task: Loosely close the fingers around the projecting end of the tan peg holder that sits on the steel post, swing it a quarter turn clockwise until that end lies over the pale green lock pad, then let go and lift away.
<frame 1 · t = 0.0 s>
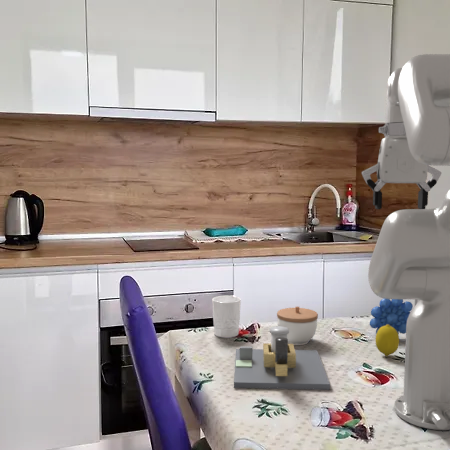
hand: (399, 208, 116), 37 cm above the table, tool pointing down, fingers open, 9 cm apart
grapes: (391, 338, 140), on the table
lidded jar: (296, 342, 137), on the table
post base: (278, 370, 118), on the table
tan peg holder: (279, 349, 114), point 6 cm above the table, hinge at 0.0°
lemon: (386, 357, 126), on the table
white cup: (226, 334, 143), on the table
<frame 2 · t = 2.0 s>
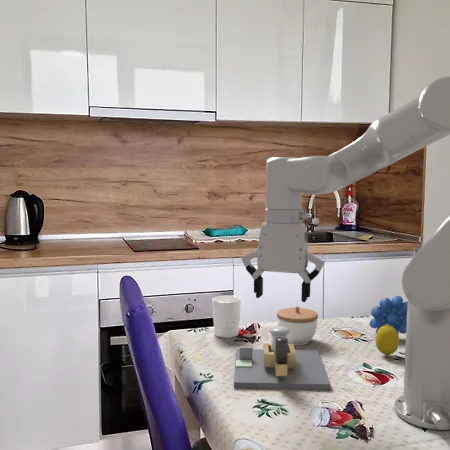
hand: (281, 298, 108), 19 cm above the table, tool pointing down, fingers open, 9 cm apart
nothing on the table moved.
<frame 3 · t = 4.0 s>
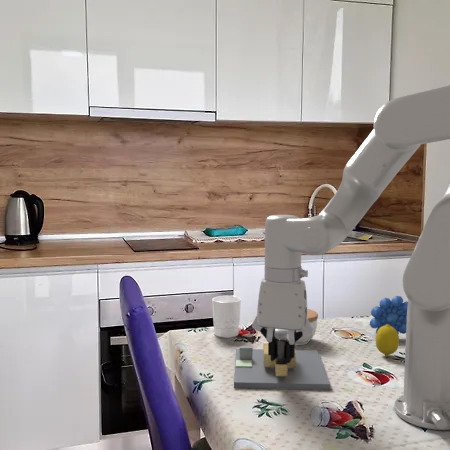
hand: (281, 358, 109), 6 cm above the table, tool pointing down, fingers closed on tan peg holder, 2 cm apart
tan peg holder: (279, 349, 114), point 6 cm above the table, hinge at 0.0°, touching gripper
everything else where it was.
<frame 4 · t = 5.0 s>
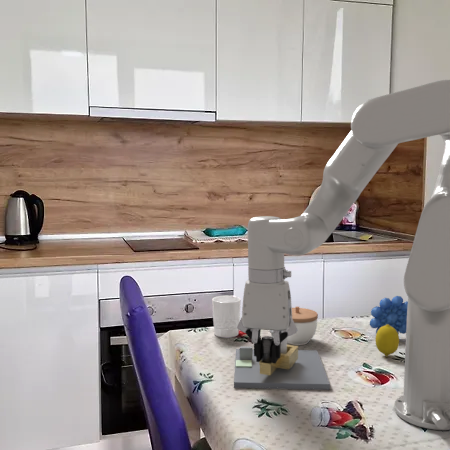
hand: (267, 359, 110), 5 cm above the table, tool pointing down, fingers closed on tan peg holder, 2 cm apart
tan peg holder: (275, 348, 114), point 6 cm above the table, hinge at 21.5°, touching gripper
everything else where it was.
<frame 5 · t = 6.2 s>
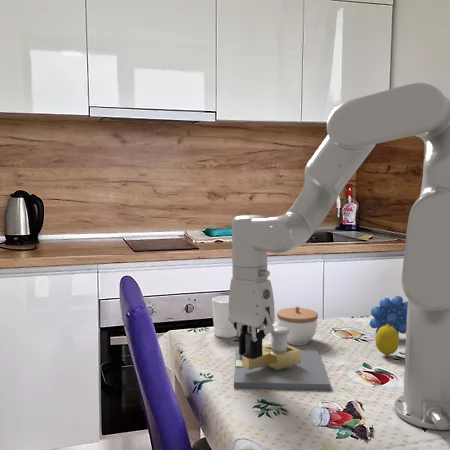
hand: (250, 354, 113), 5 cm above the table, tool pointing down, fingers closed on tan peg holder, 2 cm apart
tan peg holder: (268, 347, 115), point 6 cm above the table, hinge at 54.1°, touching gripper
everything else where it was.
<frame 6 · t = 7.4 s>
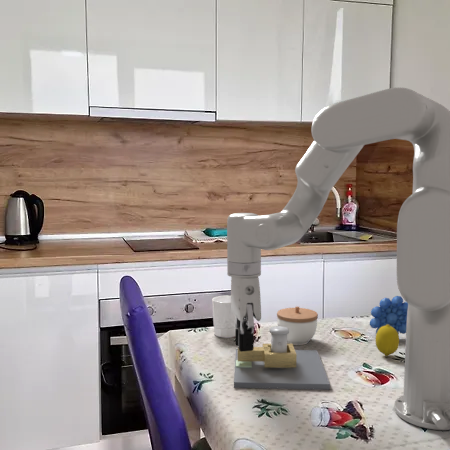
hand: (244, 347, 117), 5 cm above the table, tool pointing down, fingers closed on tan peg holder, 2 cm apart
tan peg holder: (266, 344, 117), point 6 cm above the table, hinge at 87.6°, touching gripper
everything else where it was.
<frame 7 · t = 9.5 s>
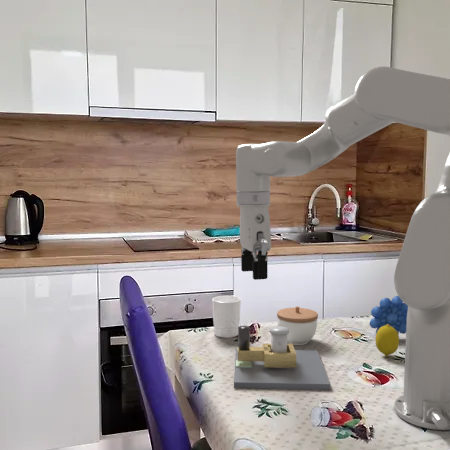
hand: (253, 274, 117), 22 cm above the table, tool pointing down, fingers open, 9 cm apart
tan peg holder: (266, 344, 117), point 6 cm above the table, hinge at 88.0°
everything else where it was.
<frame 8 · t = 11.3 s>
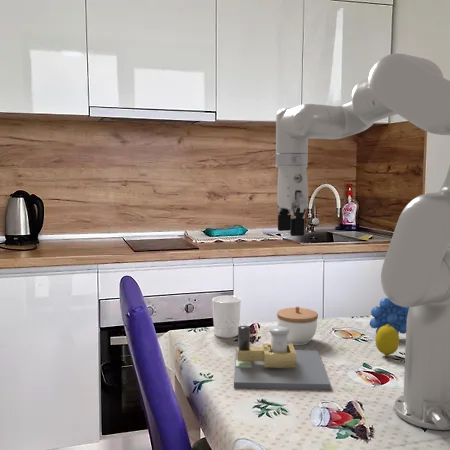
hand: (290, 233, 124), 30 cm above the table, tool pointing down, fingers open, 9 cm apart
nothing on the table moved.
at the end: tan peg holder at +88° (first picture: +0°); the gripper is holding nothing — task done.
